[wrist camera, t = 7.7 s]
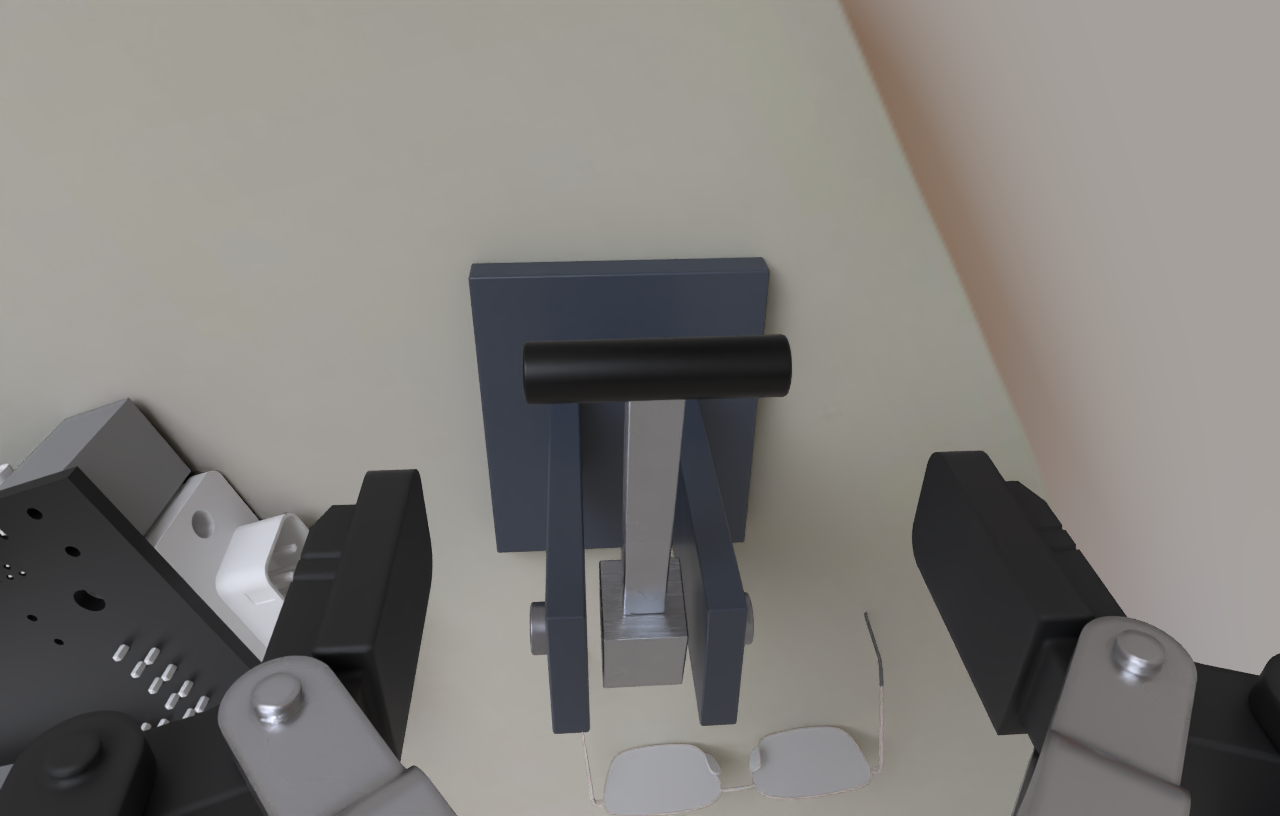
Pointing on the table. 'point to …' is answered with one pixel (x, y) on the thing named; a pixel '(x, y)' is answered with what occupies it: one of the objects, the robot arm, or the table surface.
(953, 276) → the table surface
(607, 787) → the eyeglasses
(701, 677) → the bracket
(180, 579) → the circuit board
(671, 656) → the tap lever
